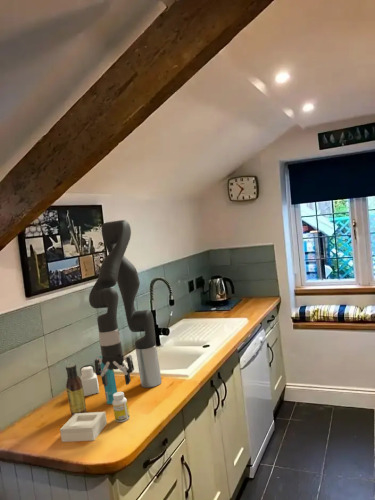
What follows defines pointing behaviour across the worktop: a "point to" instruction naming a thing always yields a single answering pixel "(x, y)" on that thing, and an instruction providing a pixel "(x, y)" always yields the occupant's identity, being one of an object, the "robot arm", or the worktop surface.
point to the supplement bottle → (120, 407)
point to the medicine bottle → (89, 380)
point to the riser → (83, 427)
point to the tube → (109, 384)
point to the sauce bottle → (75, 391)
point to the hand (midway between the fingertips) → (116, 384)
